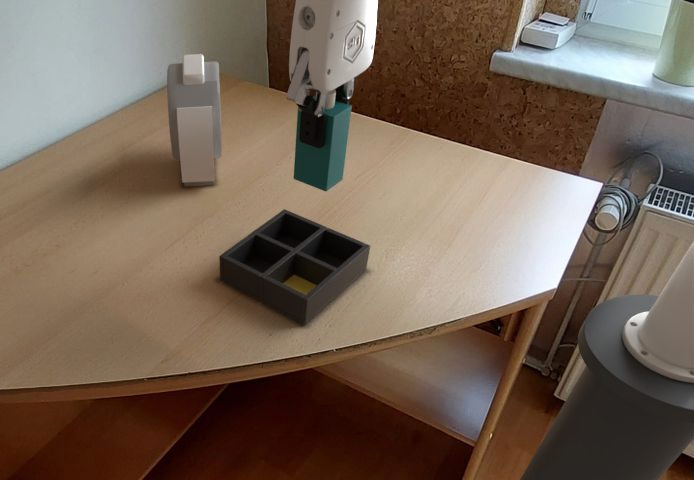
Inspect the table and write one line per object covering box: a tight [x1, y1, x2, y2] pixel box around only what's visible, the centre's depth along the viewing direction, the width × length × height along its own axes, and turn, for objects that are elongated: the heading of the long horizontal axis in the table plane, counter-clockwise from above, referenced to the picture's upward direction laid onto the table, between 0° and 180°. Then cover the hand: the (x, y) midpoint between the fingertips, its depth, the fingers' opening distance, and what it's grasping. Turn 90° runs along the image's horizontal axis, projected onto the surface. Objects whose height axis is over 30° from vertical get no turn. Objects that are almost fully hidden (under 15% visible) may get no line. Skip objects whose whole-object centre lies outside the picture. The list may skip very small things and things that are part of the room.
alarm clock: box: [166, 53, 223, 187], centre depth 108 cm, size 18×8×20 cm, turn 0°
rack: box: [218, 209, 371, 326], centre depth 90 cm, size 15×15×5 cm
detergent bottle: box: [293, 89, 353, 192], centre depth 74 cm, size 5×4×11 cm
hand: (322, 135), depth 74 cm, fingers closed on detergent bottle, 3 cm apart
